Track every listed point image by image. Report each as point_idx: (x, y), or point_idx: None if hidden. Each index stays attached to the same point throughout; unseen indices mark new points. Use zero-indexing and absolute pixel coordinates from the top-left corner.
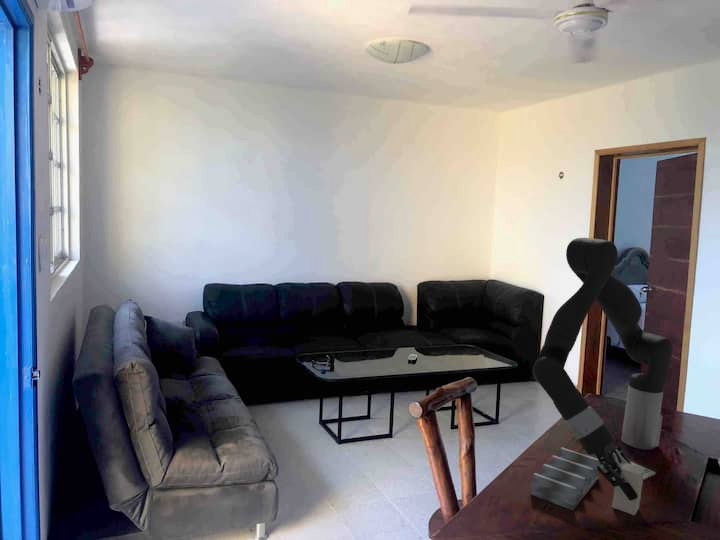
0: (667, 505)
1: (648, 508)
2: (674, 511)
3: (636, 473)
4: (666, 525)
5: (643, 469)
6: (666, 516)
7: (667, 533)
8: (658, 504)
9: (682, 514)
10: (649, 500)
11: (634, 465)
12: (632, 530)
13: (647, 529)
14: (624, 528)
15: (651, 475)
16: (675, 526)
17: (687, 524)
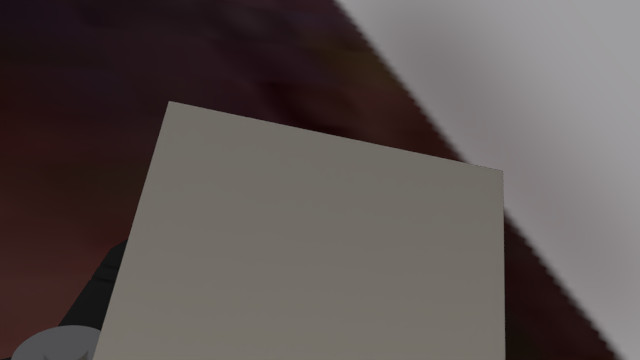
0: (28, 87)
1: None
2: (104, 53)
3: (502, 241)
4: (334, 111)
5: (233, 121)
6: (211, 103)
7: (426, 112)
8: (44, 142)
9: (122, 15)
10: (2, 203)
11: (116, 297)
12: (541, 301)
13: None
14: (556, 353)
15: None
16: (313, 66)
17: (244, 5)
